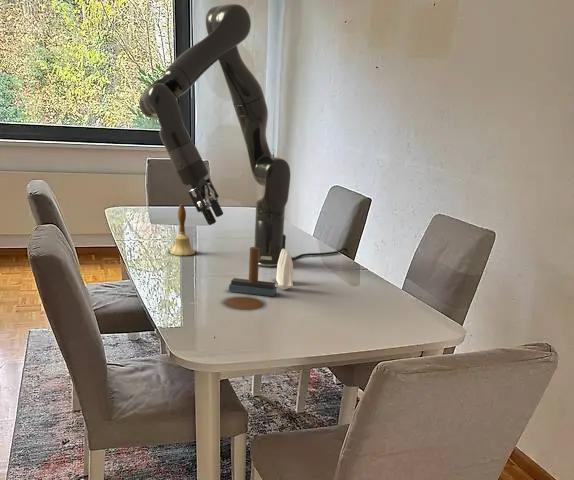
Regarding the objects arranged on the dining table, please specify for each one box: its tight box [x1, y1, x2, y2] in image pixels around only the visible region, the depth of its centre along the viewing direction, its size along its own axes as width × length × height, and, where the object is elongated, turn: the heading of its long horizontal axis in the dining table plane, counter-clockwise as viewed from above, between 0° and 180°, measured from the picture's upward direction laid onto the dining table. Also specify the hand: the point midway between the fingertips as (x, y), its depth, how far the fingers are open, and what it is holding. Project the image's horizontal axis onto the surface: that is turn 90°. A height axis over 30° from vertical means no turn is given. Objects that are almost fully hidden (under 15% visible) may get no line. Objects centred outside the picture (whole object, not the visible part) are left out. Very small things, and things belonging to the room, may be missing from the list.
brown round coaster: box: [224, 296, 264, 311], centre depth 170 cm, size 10×10×1 cm
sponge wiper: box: [228, 246, 278, 297], centre depth 176 cm, size 4×13×13 cm, turn 79°
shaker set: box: [275, 248, 294, 290], centre depth 184 cm, size 12×4×11 cm, turn 4°
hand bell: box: [169, 203, 196, 257], centre depth 210 cm, size 8×8×16 cm
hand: (216, 219), depth 173 cm, fingers open, 8 cm apart
